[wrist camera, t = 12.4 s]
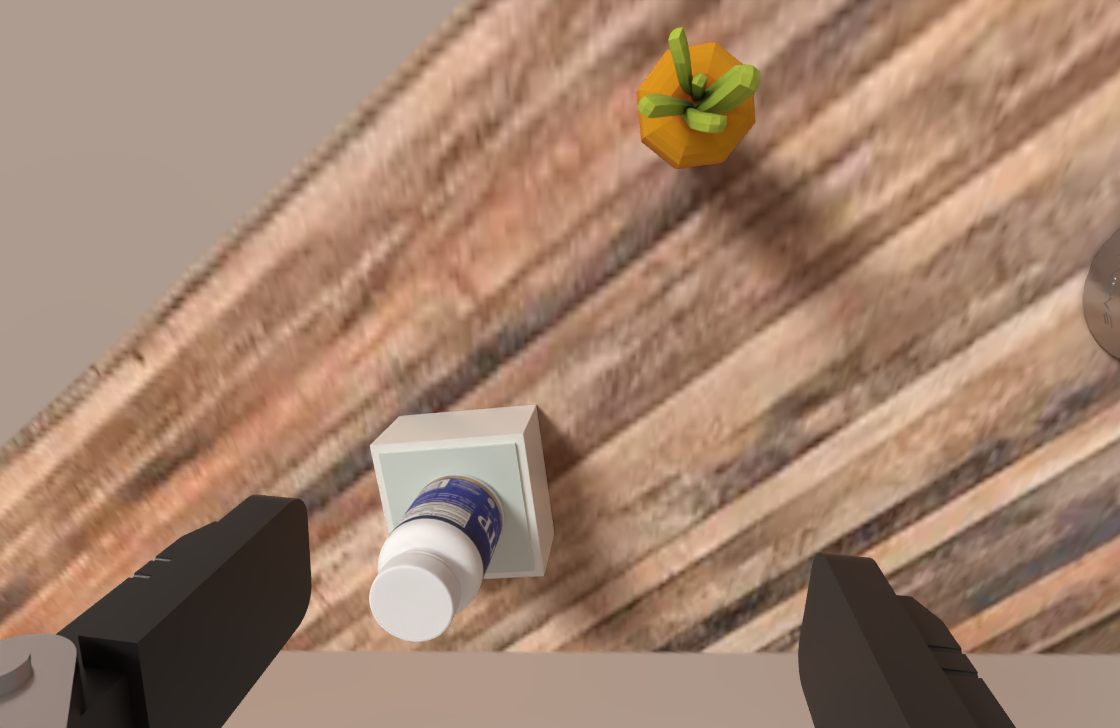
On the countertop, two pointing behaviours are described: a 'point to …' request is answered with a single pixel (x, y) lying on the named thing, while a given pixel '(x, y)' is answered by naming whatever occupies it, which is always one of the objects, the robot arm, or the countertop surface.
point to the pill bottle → (436, 557)
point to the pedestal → (475, 474)
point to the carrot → (696, 103)
